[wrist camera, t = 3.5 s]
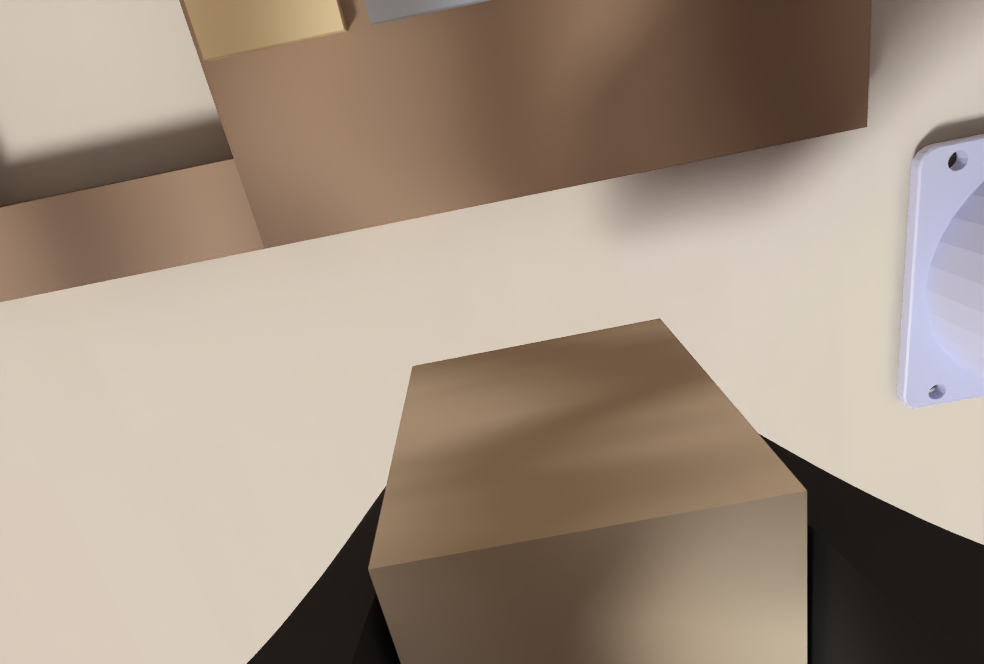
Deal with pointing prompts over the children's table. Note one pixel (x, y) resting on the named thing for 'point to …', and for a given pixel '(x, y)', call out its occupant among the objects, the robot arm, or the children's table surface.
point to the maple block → (588, 513)
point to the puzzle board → (446, 117)
